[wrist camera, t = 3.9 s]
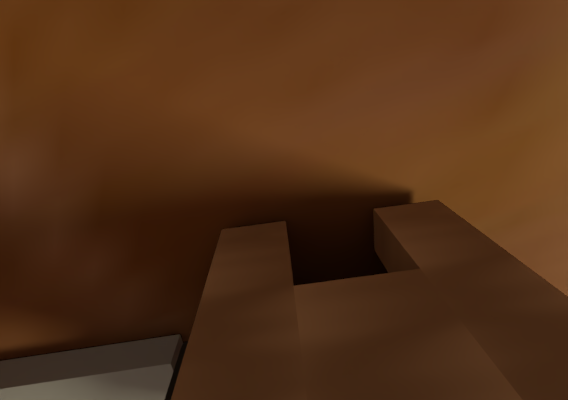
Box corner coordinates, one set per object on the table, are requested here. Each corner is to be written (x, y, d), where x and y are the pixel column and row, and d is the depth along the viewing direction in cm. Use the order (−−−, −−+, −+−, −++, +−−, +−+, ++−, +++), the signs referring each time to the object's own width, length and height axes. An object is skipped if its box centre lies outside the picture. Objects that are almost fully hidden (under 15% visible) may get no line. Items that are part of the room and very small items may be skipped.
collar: (437, 200, 9) (708, 401, 3) (426, 357, 11) (575, 623, 6) (221, 229, 9) (147, 476, 4) (256, 380, 11) (245, 665, 6)
